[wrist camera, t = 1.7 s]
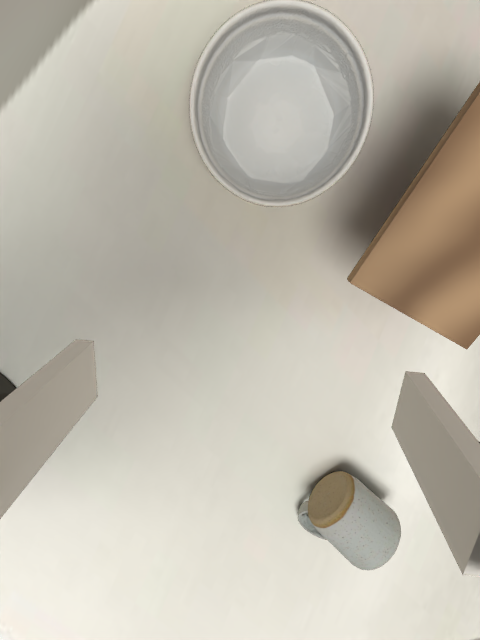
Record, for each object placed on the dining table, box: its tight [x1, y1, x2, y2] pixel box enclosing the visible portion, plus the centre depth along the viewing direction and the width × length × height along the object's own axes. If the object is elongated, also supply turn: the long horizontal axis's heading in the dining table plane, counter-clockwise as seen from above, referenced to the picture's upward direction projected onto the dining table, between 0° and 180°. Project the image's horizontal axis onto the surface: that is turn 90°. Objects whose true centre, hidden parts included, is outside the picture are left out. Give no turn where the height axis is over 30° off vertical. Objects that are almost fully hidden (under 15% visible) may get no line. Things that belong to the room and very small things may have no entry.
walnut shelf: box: [347, 82, 480, 349], centre depth 30 cm, size 10×15×11 cm, turn 151°
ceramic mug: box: [298, 471, 401, 570], centre depth 44 cm, size 11×8×8 cm
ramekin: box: [189, 0, 374, 207], centre depth 30 cm, size 13×13×7 cm
